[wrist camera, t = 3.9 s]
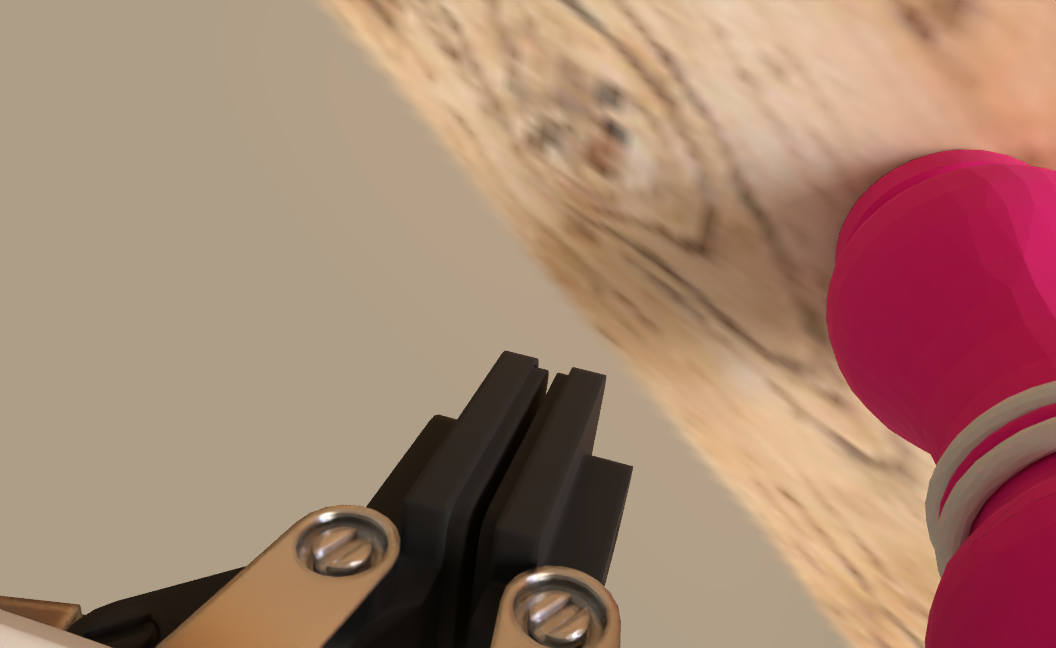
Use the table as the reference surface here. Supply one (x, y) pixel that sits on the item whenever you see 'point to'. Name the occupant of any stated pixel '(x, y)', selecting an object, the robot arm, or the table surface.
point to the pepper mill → (964, 374)
